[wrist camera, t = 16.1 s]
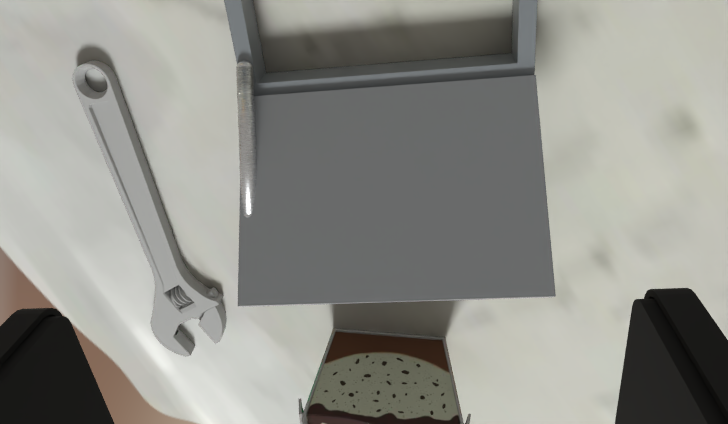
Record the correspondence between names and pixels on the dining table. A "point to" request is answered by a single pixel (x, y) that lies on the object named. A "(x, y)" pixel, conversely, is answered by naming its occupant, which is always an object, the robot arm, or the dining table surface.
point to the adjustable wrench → (148, 217)
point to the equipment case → (391, 177)
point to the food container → (383, 381)
